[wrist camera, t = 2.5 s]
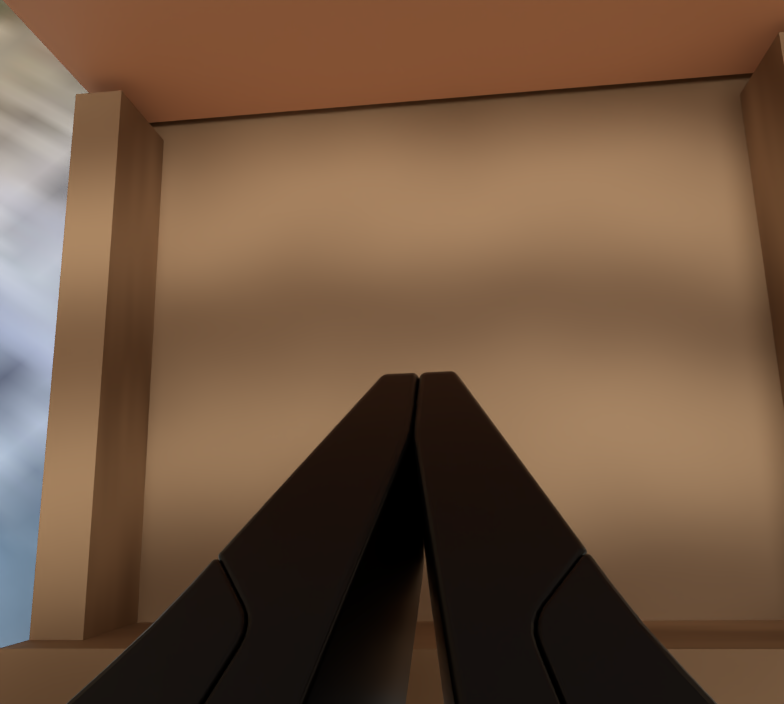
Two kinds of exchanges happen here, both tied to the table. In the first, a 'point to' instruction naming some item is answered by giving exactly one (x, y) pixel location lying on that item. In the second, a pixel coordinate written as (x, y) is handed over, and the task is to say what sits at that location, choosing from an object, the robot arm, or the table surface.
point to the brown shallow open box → (426, 344)
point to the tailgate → (386, 48)
